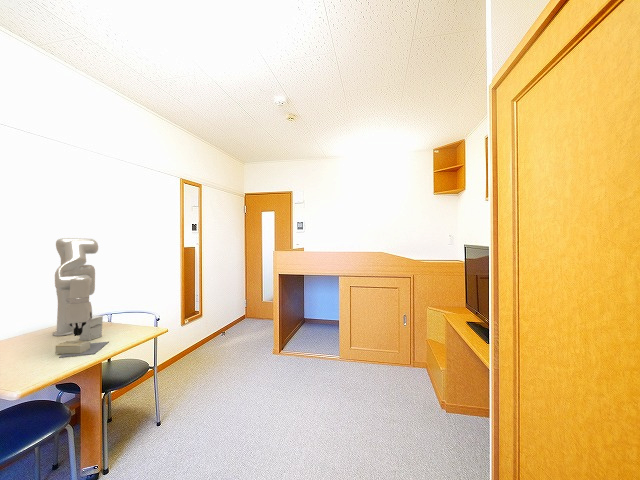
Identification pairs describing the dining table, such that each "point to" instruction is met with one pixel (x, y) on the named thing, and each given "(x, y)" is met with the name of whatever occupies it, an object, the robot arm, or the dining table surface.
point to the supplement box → (92, 329)
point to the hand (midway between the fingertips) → (77, 335)
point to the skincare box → (72, 347)
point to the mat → (93, 349)
